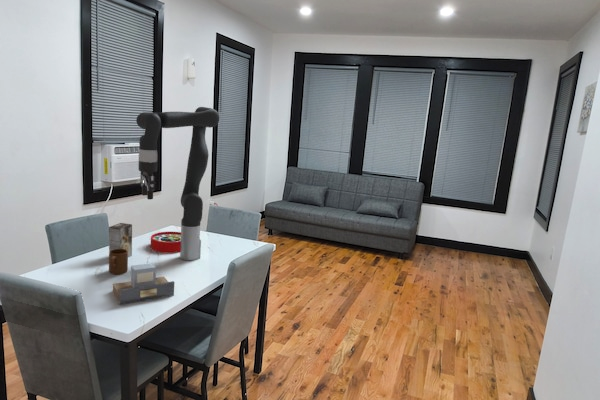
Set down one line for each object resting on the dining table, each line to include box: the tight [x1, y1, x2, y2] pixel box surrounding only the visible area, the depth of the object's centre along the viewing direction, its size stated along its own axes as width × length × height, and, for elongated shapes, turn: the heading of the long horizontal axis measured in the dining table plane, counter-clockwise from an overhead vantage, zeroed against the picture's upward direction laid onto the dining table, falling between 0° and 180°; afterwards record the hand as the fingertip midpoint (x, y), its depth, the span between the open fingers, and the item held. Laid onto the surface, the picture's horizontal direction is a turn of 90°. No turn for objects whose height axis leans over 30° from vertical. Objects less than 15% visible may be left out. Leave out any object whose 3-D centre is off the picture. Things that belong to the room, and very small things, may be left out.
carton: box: [130, 262, 157, 288], centre depth 158 cm, size 6×8×8 cm
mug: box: [108, 249, 129, 275], centre depth 175 cm, size 12×8×9 cm, turn 3°
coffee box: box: [108, 222, 133, 258], centre depth 194 cm, size 9×6×16 cm
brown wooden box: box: [112, 275, 175, 306], centre depth 159 cm, size 20×14×6 cm
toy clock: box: [150, 231, 181, 254], centre depth 216 cm, size 20×6×20 cm
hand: (147, 197), depth 175 cm, fingers open, 8 cm apart
